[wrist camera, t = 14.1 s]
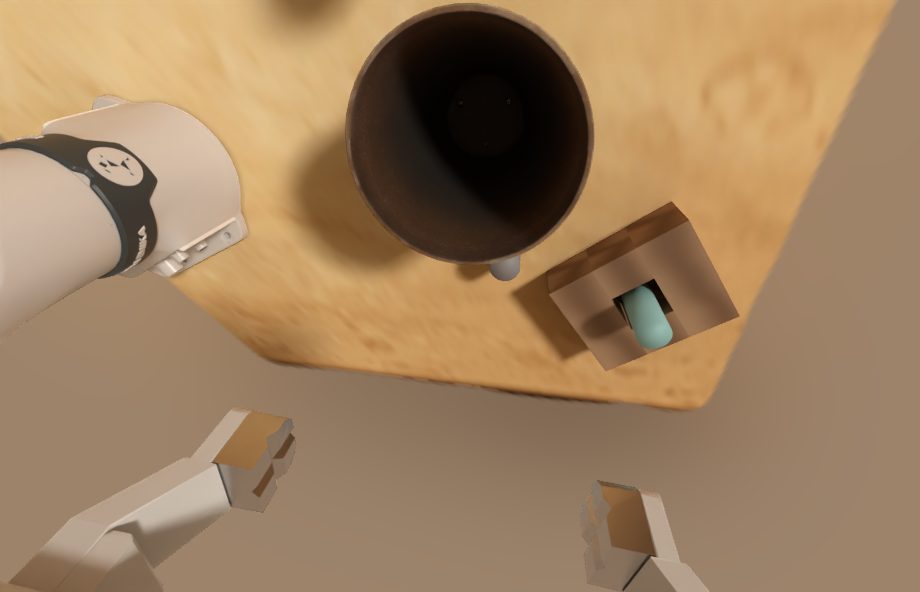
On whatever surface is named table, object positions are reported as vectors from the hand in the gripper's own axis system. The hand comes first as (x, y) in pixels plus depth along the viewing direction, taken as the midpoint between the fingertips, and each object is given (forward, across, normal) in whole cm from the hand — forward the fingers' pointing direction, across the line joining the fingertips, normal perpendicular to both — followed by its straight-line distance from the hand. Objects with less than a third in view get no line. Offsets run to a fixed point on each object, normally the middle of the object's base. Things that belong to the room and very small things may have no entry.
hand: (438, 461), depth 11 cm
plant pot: (+34, +2, -4) cm, 35 cm away
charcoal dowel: (+34, -2, +9) cm, 35 cm away
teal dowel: (+34, -16, +11) cm, 39 cm away
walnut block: (+34, -16, +11) cm, 39 cm away
